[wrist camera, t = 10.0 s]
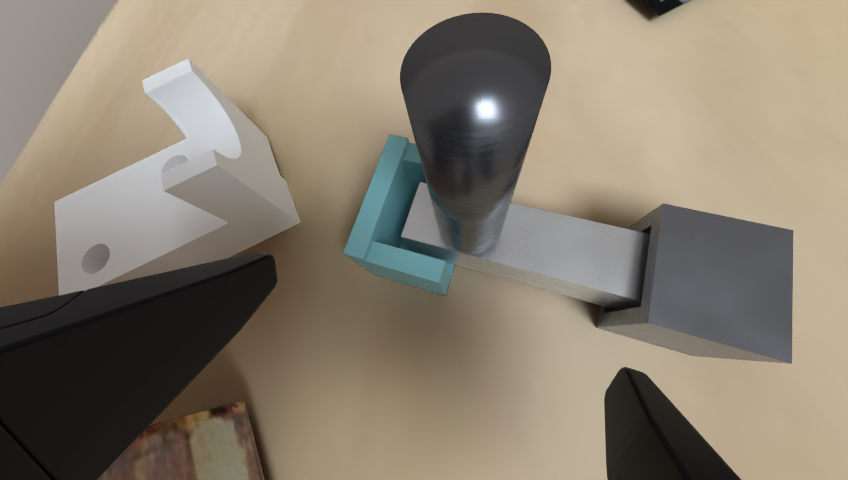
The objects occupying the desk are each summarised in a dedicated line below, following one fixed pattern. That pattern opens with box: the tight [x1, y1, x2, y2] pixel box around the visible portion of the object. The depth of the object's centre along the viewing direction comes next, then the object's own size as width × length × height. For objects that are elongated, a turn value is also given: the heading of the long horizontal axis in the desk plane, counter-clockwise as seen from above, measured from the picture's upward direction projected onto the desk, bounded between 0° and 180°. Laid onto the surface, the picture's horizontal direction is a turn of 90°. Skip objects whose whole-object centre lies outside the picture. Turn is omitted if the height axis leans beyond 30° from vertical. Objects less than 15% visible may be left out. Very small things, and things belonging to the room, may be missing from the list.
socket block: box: [343, 134, 455, 296], centre depth 17 cm, size 4×6×5 cm
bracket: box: [54, 58, 301, 295], centre depth 18 cm, size 13×7×8 cm, turn 115°
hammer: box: [400, 13, 650, 311], centre depth 11 cm, size 12×3×12 cm, turn 72°
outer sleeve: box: [596, 204, 793, 364], centre depth 14 cm, size 4×5×5 cm
